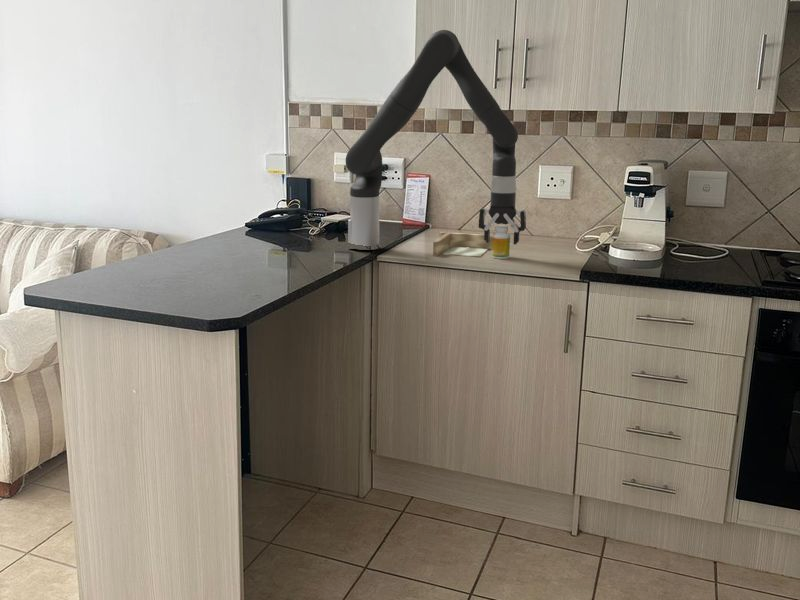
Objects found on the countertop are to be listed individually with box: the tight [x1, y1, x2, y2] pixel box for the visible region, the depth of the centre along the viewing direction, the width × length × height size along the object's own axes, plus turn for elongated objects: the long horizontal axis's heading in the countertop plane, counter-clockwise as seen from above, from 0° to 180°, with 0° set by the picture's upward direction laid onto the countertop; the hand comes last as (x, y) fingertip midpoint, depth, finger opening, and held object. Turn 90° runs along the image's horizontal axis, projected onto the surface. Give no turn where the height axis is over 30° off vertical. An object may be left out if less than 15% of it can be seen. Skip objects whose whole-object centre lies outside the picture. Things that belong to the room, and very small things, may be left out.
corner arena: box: [432, 231, 493, 258], centre depth 253 cm, size 18×17×4 cm
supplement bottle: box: [491, 225, 511, 260], centre depth 245 cm, size 5×5×10 cm
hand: (501, 243), depth 245 cm, fingers open, 8 cm apart
